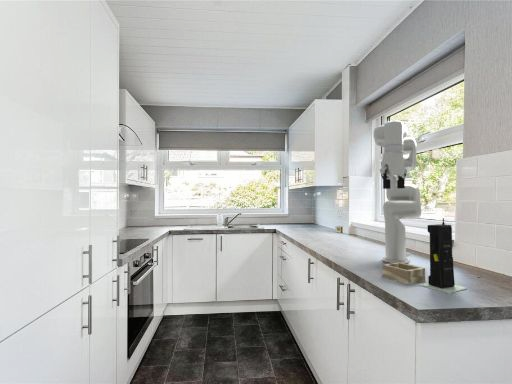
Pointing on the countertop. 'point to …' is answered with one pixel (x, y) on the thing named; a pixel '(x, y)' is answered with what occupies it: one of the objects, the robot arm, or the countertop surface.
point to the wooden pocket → (403, 273)
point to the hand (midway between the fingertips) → (394, 188)
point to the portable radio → (441, 256)
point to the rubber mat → (446, 290)
